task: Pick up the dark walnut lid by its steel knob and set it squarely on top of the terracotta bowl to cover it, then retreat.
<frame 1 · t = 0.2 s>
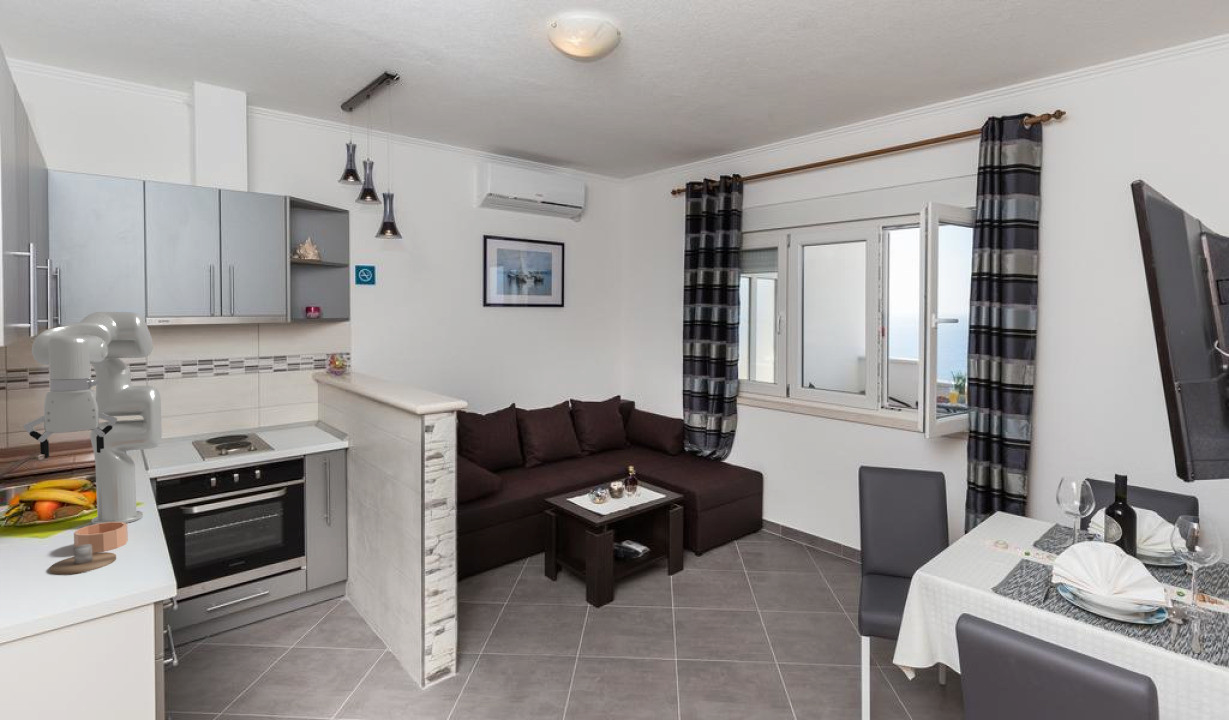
hand: (73, 454, 150), 30 cm above the counter, tool pointing down, fingers open, 9 cm apart
bowl: (101, 545, 169), on the counter
lid: (83, 565, 156), on the counter
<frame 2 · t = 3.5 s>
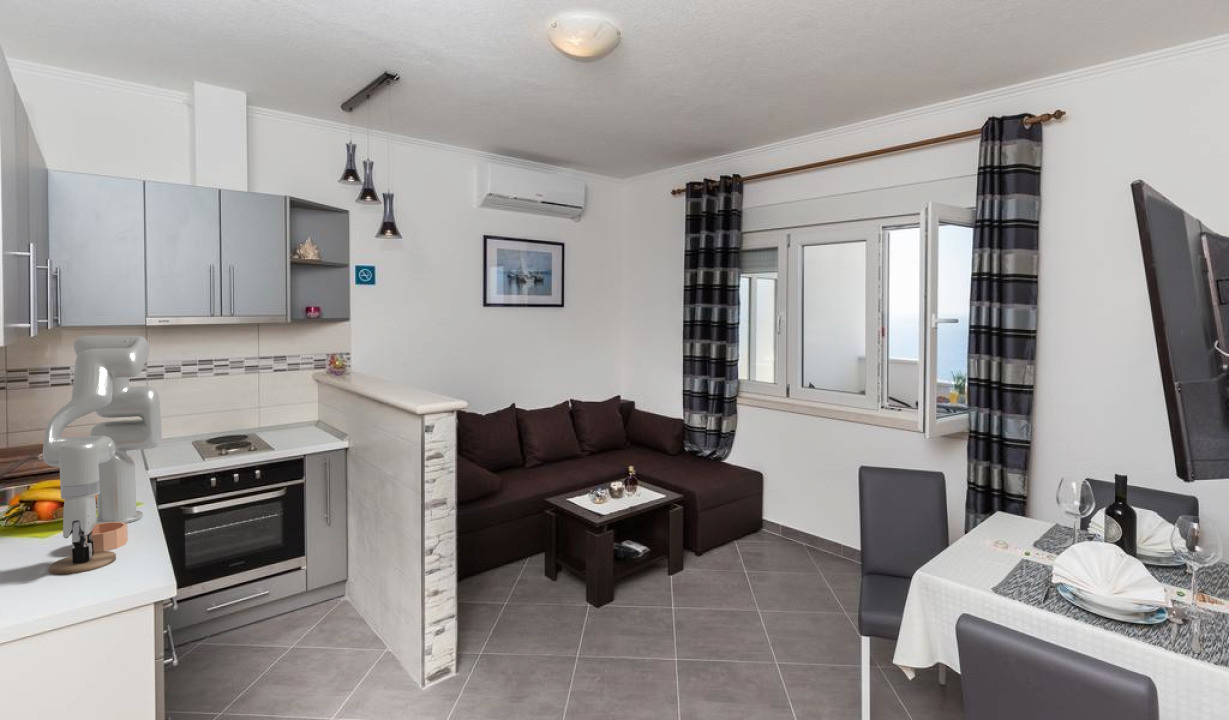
hand: (83, 558, 156), 1 cm above the counter, tool pointing down, fingers closed on lid, 3 cm apart
lid: (83, 564, 156), on the counter, touching gripper
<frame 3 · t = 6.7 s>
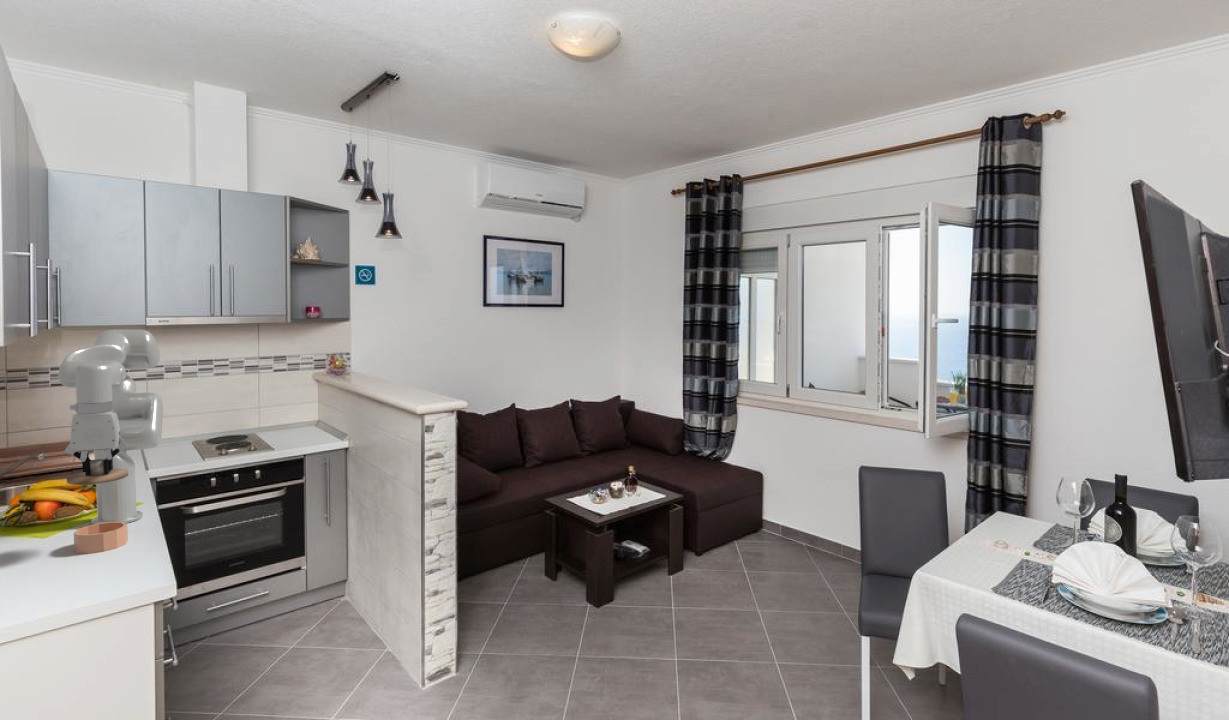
hand: (98, 473, 167), 21 cm above the counter, tool pointing down, fingers closed on lid, 3 cm apart
lid: (98, 478, 167), point 19 cm above the counter, touching gripper
when the fingers open (7 cm above the counter, at t = 10.1 s): lid stays where it is, resting on bowl.
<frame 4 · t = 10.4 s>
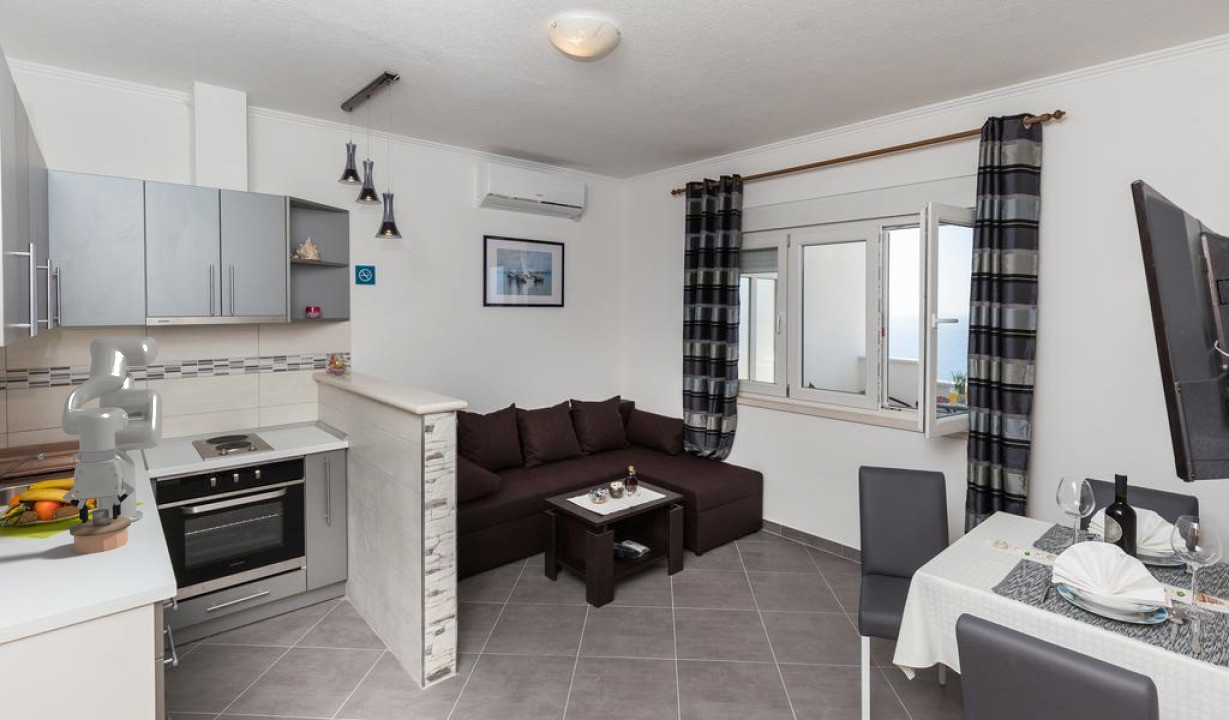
hand: (100, 519, 168), 8 cm above the counter, tool pointing down, fingers open, 6 cm apart
lid: (101, 528, 168), point 5 cm above the counter, touching bowl
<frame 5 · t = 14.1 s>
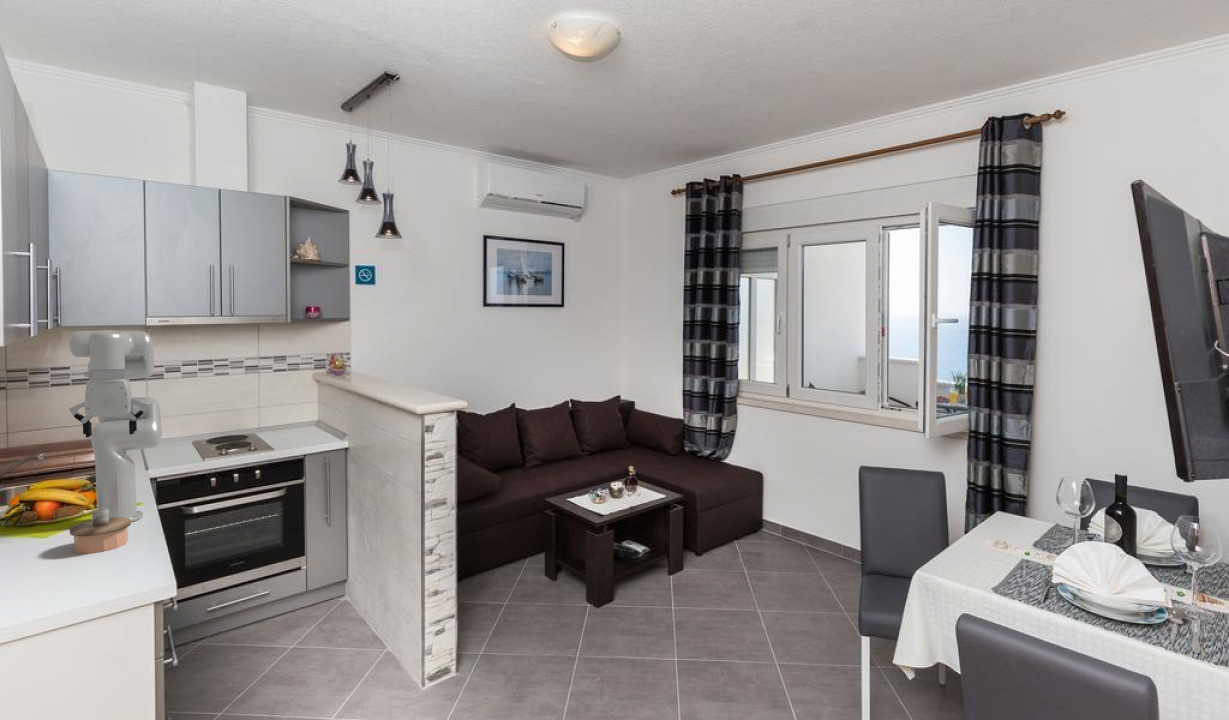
hand: (110, 435, 172), 30 cm above the counter, tool pointing down, fingers open, 9 cm apart
nothing on the counter moved.
at the end: lid 0.1 cm off-centre on the bowl, point 5.0 cm above the bowl's base; lid tilted 0°; the gripper is holding nothing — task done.
